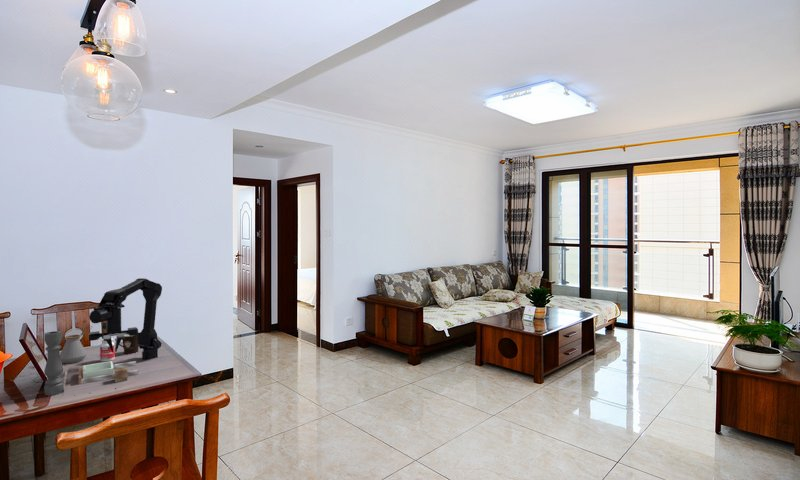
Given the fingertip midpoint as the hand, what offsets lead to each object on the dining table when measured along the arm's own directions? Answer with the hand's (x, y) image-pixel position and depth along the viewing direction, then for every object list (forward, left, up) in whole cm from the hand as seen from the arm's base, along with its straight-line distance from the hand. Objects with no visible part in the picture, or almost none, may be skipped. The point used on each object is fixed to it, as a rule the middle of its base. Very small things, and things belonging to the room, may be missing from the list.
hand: (114, 352), depth 194 cm
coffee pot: (+14, -41, -11) cm, 45 cm away
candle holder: (+21, +10, -11) cm, 26 cm away
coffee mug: (-8, -39, -11) cm, 41 cm away
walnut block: (-2, +12, -11) cm, 16 cm away
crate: (+6, 0, -10) cm, 11 cm away
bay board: (+2, 0, -11) cm, 11 cm away
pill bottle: (+2, -29, -11) cm, 31 cm away
